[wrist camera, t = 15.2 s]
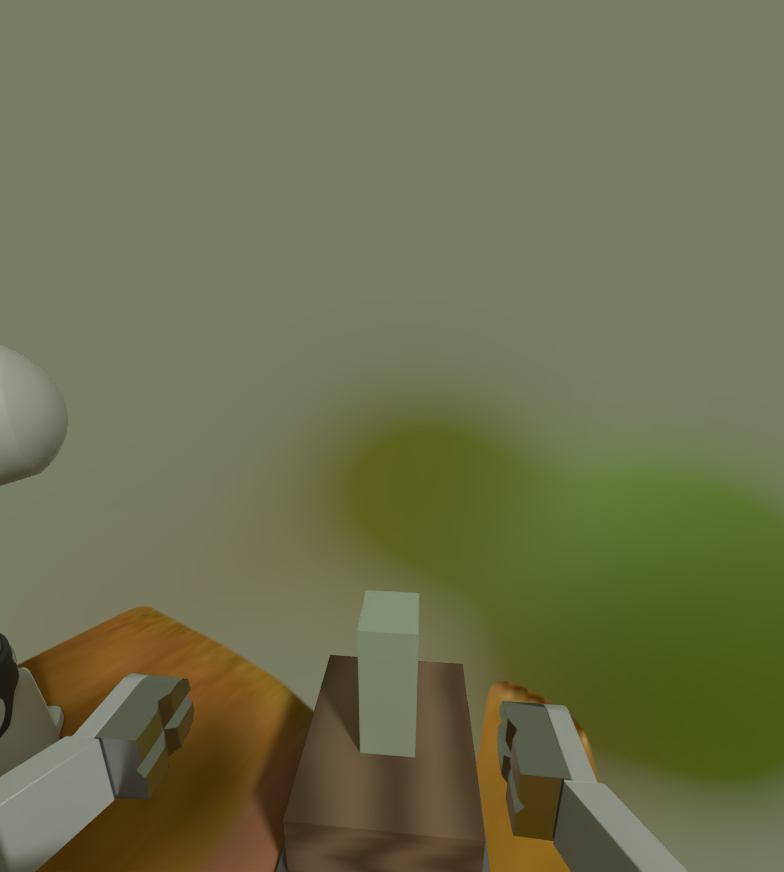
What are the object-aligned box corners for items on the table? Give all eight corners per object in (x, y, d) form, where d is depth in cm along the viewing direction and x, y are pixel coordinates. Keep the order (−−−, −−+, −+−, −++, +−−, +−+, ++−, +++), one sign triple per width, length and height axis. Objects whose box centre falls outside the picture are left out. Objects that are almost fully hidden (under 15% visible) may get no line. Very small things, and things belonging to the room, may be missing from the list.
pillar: (360, 752, 30) (357, 630, 27) (367, 700, 34) (366, 590, 31) (415, 757, 30) (418, 634, 27) (415, 704, 34) (419, 593, 31)
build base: (270, 898, 26) (262, 838, 25) (325, 692, 42) (323, 646, 40) (495, 925, 25) (503, 863, 24) (467, 703, 41) (470, 656, 39)
